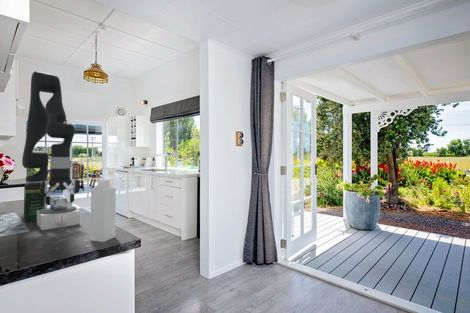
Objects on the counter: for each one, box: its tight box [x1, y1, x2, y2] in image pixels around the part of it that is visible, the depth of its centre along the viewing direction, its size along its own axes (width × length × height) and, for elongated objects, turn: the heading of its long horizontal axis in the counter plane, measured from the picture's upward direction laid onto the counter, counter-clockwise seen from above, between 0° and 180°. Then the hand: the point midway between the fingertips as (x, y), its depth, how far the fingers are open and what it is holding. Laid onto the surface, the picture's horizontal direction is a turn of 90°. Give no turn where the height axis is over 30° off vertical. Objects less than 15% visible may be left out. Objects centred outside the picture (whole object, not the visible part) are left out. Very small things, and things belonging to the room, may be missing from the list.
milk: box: [90, 179, 117, 243], centre depth 97 cm, size 6×6×22 cm
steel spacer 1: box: [49, 195, 64, 209], centre depth 120 cm, size 5×5×5 cm
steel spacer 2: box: [53, 197, 68, 211], centre depth 115 cm, size 5×5×5 cm
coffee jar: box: [23, 181, 45, 223], centre depth 124 cm, size 10×8×19 cm
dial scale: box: [36, 205, 81, 231], centre depth 118 cm, size 14×14×7 cm
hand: (60, 203), depth 115 cm, fingers open, 8 cm apart
